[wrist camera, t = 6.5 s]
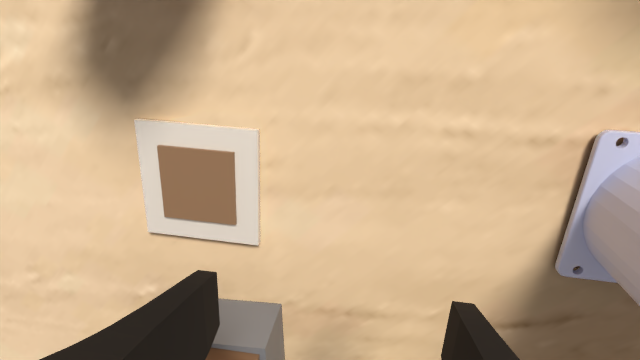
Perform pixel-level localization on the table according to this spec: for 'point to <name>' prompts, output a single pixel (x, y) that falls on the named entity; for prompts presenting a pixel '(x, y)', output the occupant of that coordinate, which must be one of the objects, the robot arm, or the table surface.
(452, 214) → the table surface
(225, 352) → the walnut block
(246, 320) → the base block
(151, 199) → the tile
